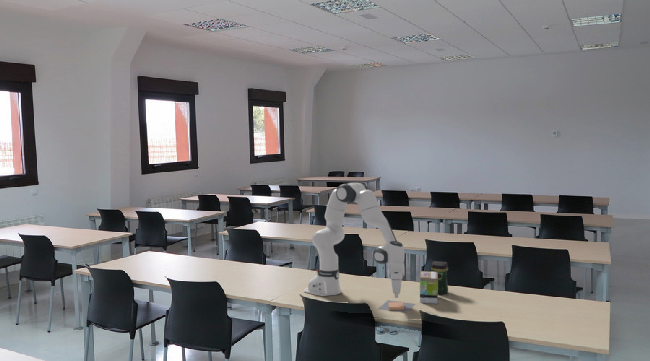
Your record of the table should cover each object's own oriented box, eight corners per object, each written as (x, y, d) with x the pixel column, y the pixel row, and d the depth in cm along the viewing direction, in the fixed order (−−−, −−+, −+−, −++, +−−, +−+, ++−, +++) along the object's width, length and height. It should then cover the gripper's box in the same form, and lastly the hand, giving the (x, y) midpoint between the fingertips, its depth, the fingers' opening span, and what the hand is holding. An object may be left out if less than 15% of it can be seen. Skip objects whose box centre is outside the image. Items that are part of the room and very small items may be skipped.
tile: (388, 302, 284) (388, 306, 276) (403, 302, 283) (404, 307, 275) (388, 305, 284) (388, 310, 276) (403, 305, 283) (404, 310, 275)
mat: (377, 309, 279) (377, 308, 279) (388, 301, 293) (388, 300, 293) (406, 314, 272) (406, 312, 271) (415, 305, 286) (415, 303, 286)
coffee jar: (449, 291, 309) (449, 260, 308) (446, 295, 302) (446, 263, 300) (433, 289, 313) (433, 259, 312) (429, 293, 306) (429, 262, 305)
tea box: (438, 304, 286) (438, 278, 285) (419, 303, 288) (419, 277, 287) (437, 296, 301) (437, 271, 300) (420, 295, 303) (420, 270, 302)
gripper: (390, 266, 289) (390, 291, 291) (390, 276, 269) (390, 302, 270) (401, 267, 289) (401, 291, 290) (402, 277, 268) (402, 303, 270)
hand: (396, 297), depth 280 cm, fingers closed
